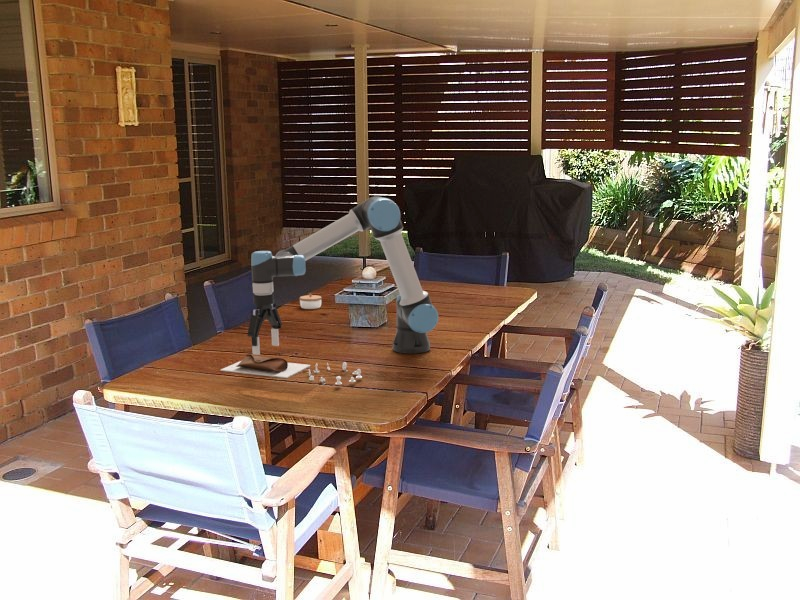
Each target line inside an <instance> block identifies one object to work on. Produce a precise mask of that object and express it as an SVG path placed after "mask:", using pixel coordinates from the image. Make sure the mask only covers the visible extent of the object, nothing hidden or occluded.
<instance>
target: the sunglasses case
mask: <svg viewBox="0 0 800 600" xmlns="http://www.w3.org/2000/svg"><path fill="white" fill-rule="evenodd" d="M240 361H241V362H240V363H239V364H238V365H237V366H236V367H245V368H251V369H258V370H265V371H283V370H286V369H287V367H288V363H289V362H287V360H286V359H284V358H281V357H280V358H279V357H269V356H261V355H255V354H250V353H247V354H246V356H245V357H243V359H242V360H240Z"/></svg>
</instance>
